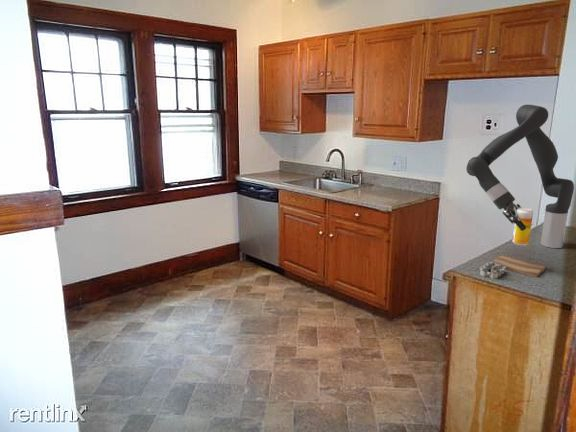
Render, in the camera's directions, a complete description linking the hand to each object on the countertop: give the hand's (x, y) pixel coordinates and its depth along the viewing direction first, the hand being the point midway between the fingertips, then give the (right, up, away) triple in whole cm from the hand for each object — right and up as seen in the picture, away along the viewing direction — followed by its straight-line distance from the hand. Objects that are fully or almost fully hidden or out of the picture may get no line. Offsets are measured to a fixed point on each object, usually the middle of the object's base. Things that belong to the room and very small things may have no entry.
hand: (527, 227), depth 170 cm
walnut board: (-1, -17, +6) cm, 18 cm away
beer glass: (-1, -7, +3) cm, 8 cm away
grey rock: (-15, -19, 0) cm, 24 cm away
